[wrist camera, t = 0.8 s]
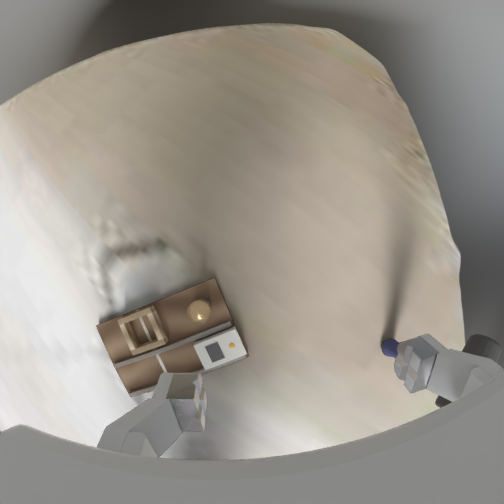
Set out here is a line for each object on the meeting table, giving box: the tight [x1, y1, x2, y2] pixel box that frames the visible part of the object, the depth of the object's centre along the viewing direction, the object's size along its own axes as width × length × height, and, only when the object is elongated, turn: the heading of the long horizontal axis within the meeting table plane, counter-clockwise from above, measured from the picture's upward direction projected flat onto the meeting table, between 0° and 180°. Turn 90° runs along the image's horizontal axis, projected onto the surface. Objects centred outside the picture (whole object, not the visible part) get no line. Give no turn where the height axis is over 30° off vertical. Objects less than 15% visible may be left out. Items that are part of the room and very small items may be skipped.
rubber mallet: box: [382, 334, 502, 408], centre depth 38 cm, size 12×8×30 cm, turn 146°
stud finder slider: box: [193, 326, 247, 370], centre depth 46 cm, size 5×8×3 cm, turn 113°
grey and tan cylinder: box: [187, 298, 211, 325], centre depth 44 cm, size 4×4×8 cm
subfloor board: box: [96, 278, 248, 397], centre depth 47 cm, size 16×26×2 cm, turn 113°
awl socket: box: [117, 306, 169, 355], centre depth 45 cm, size 7×7×3 cm
